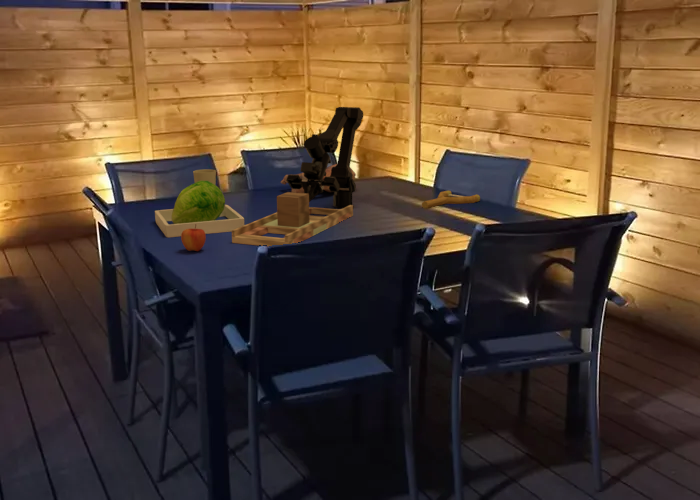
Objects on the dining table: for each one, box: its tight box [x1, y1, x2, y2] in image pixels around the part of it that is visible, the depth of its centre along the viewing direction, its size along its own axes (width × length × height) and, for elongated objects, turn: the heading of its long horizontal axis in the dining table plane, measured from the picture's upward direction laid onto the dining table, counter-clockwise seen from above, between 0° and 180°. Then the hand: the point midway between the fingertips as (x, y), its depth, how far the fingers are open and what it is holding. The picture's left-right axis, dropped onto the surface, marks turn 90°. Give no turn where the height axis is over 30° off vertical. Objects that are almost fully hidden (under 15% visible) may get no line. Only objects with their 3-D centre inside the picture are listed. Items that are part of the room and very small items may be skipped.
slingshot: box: [421, 190, 481, 209], centre depth 304 cm, size 18×3×25 cm
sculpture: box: [280, 163, 357, 193], centre depth 331 cm, size 12×26×30 cm
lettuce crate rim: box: [154, 204, 245, 238], centre depth 269 cm, size 26×26×4 cm
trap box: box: [231, 204, 354, 247], centre depth 264 cm, size 51×20×4 cm, turn 157°
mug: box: [192, 168, 217, 186], centre depth 315 cm, size 11×10×12 cm
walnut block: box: [276, 191, 310, 227], centre depth 261 cm, size 8×8×10 cm
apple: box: [180, 224, 207, 252], centre depth 235 cm, size 7×7×8 cm
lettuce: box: [171, 181, 226, 224], centre depth 269 cm, size 17×20×17 cm
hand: (306, 202), depth 269 cm, fingers closed
